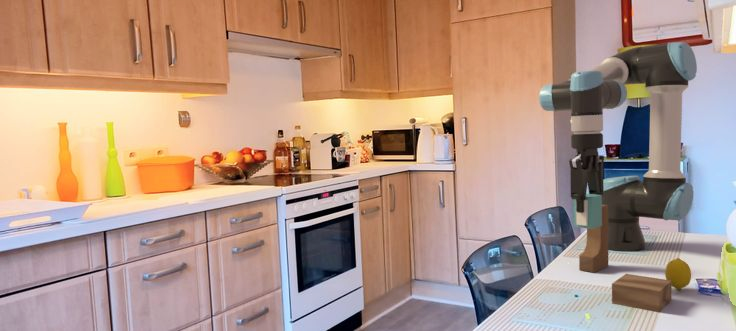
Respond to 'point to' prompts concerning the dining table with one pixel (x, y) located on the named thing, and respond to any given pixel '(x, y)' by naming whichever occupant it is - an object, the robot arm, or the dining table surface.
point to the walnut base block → (642, 292)
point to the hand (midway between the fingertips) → (587, 223)
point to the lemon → (678, 273)
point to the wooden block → (596, 246)
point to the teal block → (591, 211)
